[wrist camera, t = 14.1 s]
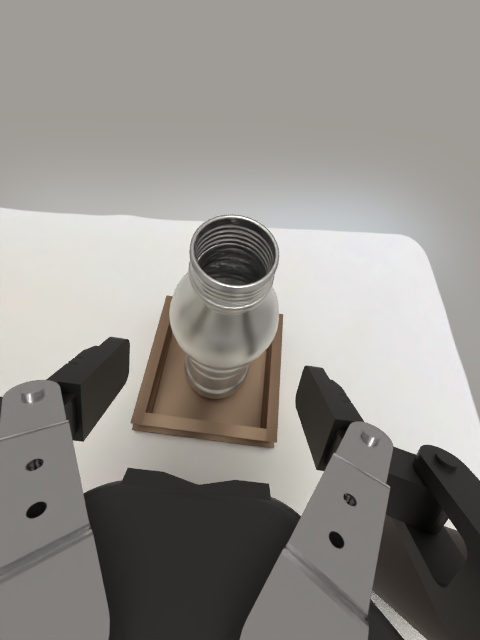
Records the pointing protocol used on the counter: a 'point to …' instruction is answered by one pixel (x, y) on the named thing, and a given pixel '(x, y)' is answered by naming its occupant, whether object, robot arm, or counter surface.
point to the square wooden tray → (201, 412)
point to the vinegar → (408, 582)
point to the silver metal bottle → (226, 303)
